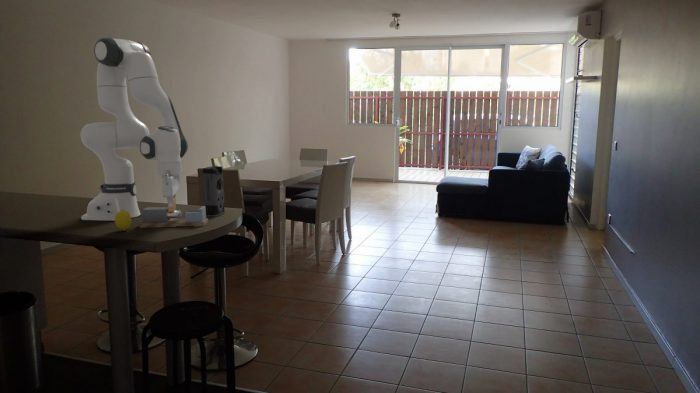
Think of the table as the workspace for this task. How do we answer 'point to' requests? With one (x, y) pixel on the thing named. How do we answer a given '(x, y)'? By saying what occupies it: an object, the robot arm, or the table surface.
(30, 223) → the table surface
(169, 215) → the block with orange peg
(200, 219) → the socket block
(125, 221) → the lemon
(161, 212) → the outer sleeve
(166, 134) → the robot arm
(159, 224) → the bench board
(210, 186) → the electronic device
